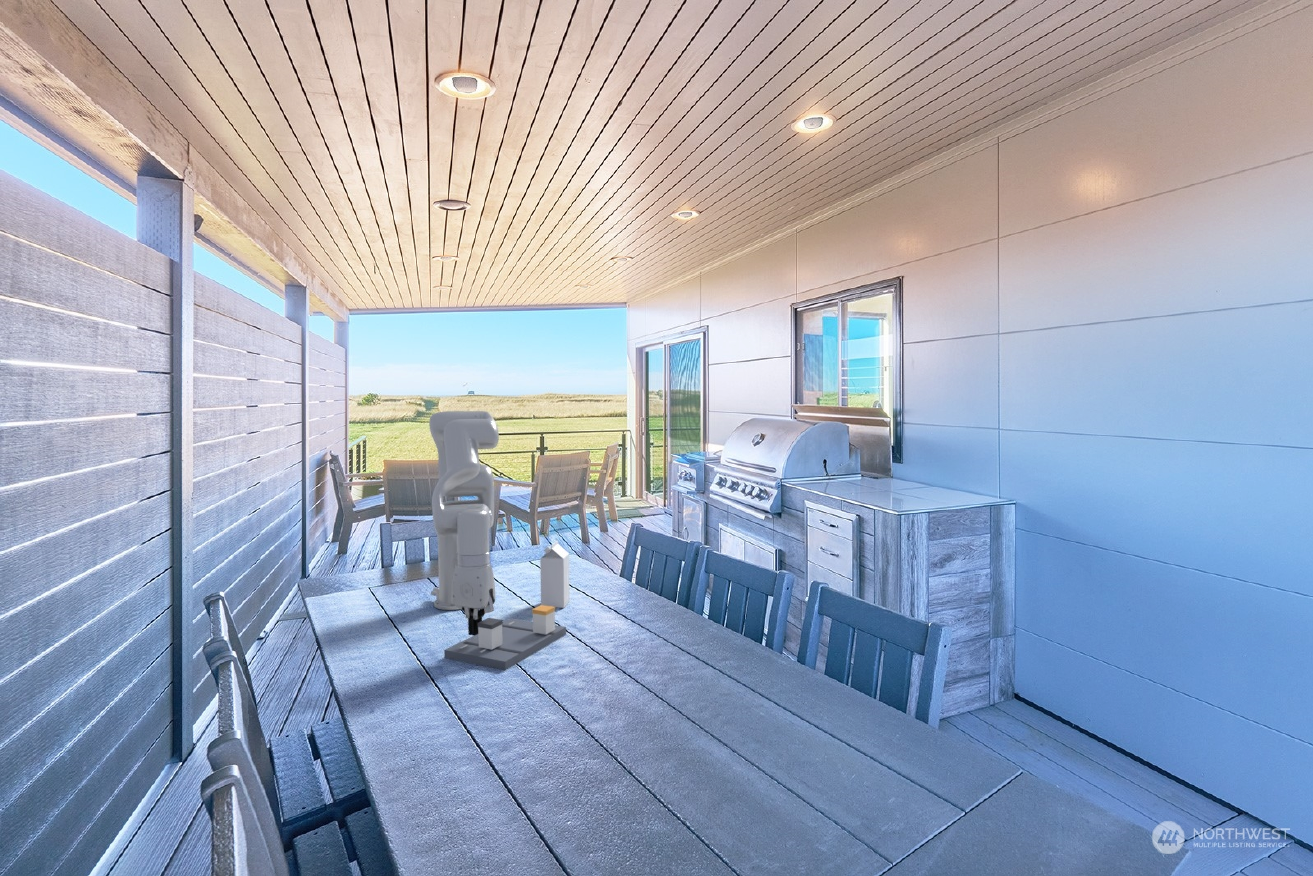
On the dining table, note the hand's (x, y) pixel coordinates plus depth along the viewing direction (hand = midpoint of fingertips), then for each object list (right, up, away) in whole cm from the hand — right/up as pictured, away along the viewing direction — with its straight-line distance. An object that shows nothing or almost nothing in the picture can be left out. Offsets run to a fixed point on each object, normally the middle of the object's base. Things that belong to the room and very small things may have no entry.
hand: (475, 633), depth 167 cm
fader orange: (+15, -2, +8) cm, 18 cm away
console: (+7, -5, +5) cm, 10 cm away
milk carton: (+14, -3, +39) cm, 42 cm away
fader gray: (+4, -3, -2) cm, 5 cm away
